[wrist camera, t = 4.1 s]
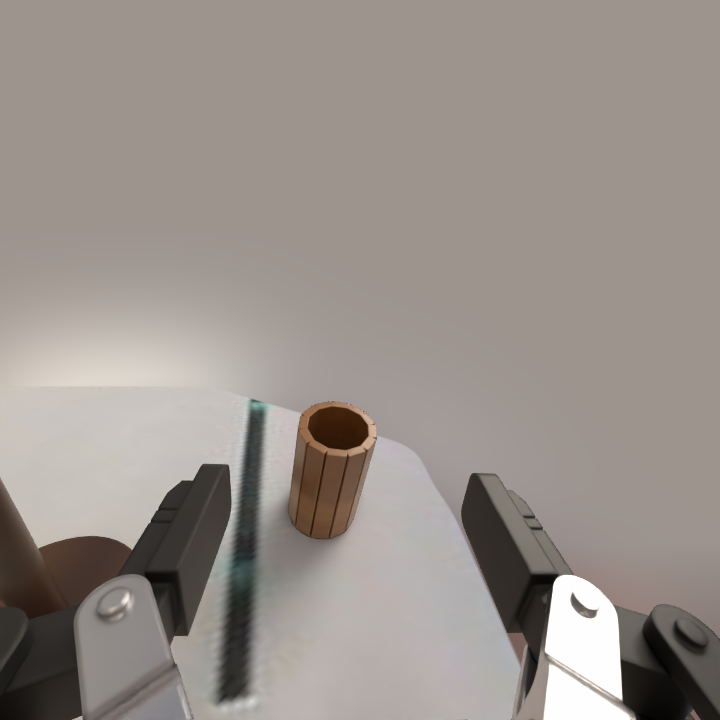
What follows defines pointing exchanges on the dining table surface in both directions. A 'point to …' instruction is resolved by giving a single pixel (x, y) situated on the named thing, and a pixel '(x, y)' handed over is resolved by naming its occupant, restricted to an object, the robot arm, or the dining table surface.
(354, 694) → the dining table surface
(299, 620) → the dining table surface
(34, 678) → the robot arm
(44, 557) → the peg stand
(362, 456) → the wooden stave pot
